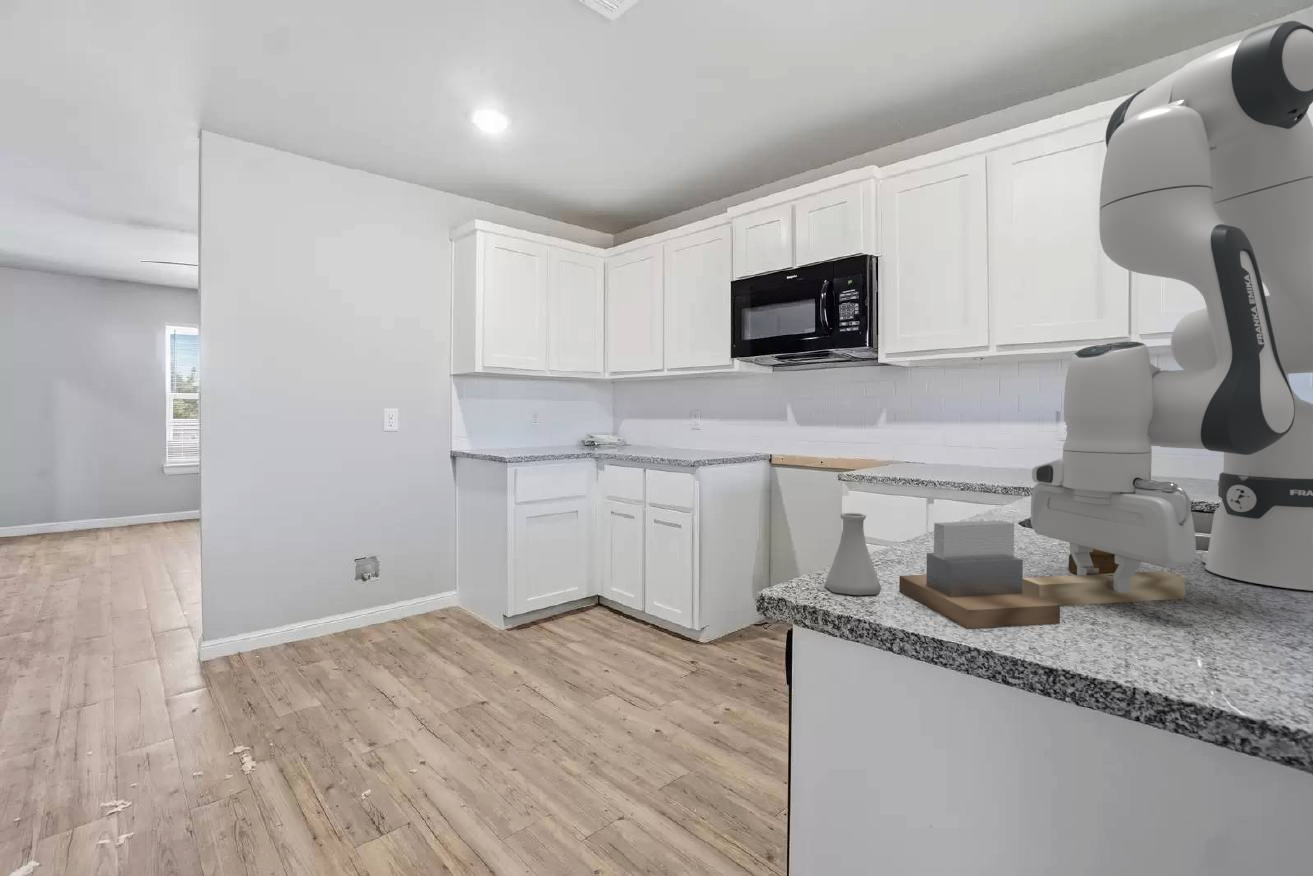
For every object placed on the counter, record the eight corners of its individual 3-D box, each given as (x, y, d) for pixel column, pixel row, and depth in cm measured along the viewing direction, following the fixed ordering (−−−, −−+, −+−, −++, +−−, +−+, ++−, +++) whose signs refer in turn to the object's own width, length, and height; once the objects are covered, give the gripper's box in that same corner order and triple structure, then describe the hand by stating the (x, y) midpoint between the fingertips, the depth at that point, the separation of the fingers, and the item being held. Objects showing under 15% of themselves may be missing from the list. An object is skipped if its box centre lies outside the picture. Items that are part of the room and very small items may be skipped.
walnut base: (976, 587, 81) (977, 572, 81) (1059, 623, 67) (1060, 605, 67) (899, 591, 80) (899, 575, 80) (968, 628, 66) (968, 610, 66)
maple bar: (1161, 593, 79) (1161, 570, 79) (1184, 601, 76) (1185, 577, 76) (1020, 601, 76) (1021, 578, 76) (1039, 609, 73) (1039, 584, 73)
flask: (885, 599, 77) (886, 519, 76) (826, 595, 78) (826, 518, 78) (877, 583, 84) (877, 510, 83) (822, 580, 85) (822, 509, 85)
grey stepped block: (993, 581, 77) (994, 518, 76) (1022, 593, 72) (1023, 525, 71) (926, 585, 75) (927, 520, 75) (951, 597, 70) (952, 528, 70)
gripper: (1215, 483, 65) (1211, 611, 66) (1063, 466, 86) (1061, 564, 86) (1163, 485, 65) (1159, 614, 65) (1022, 467, 85) (1020, 566, 85)
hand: (1102, 585), depth 76 cm, fingers closed on maple bar, 3 cm apart
